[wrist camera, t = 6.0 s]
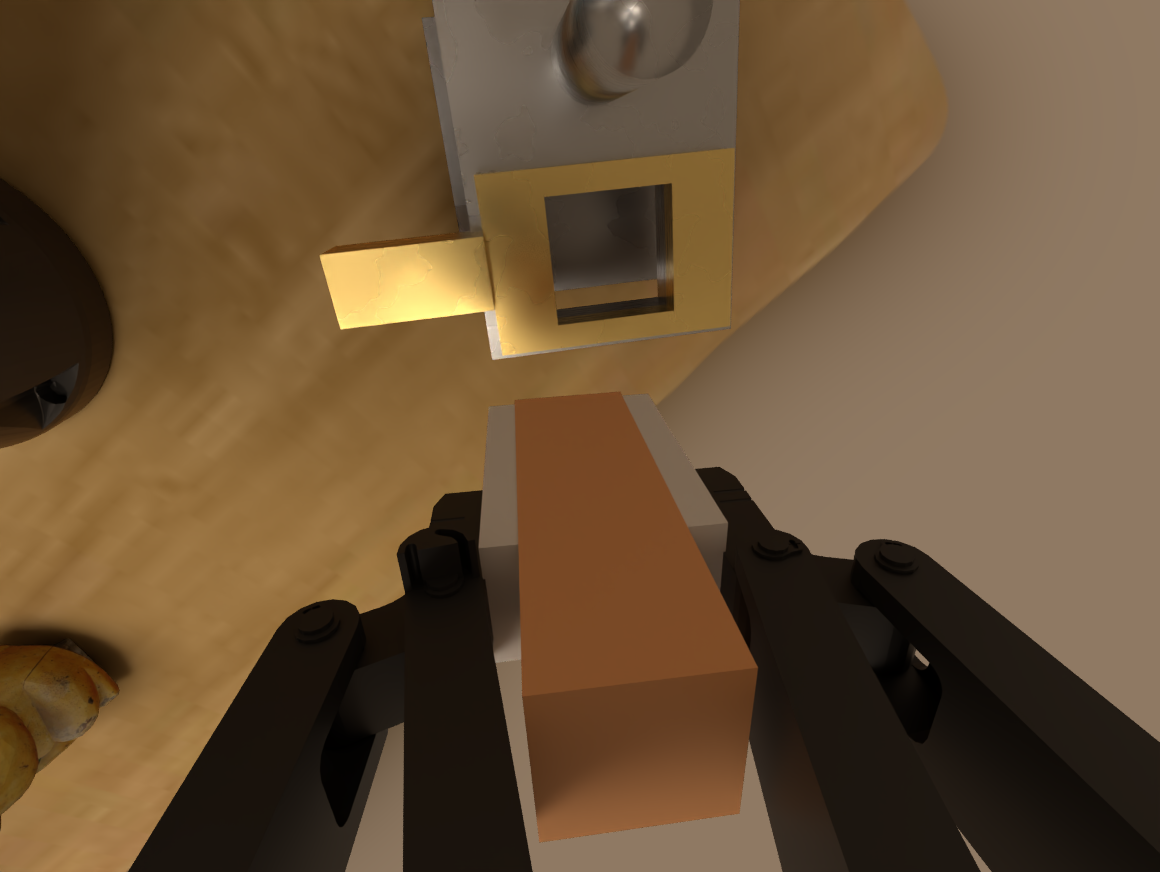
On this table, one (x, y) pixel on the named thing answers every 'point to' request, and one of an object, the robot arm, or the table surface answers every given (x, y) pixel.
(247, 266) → the table surface
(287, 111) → the table surface
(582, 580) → the wedge pin
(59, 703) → the decorative figurine
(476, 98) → the grey and yellow stand
